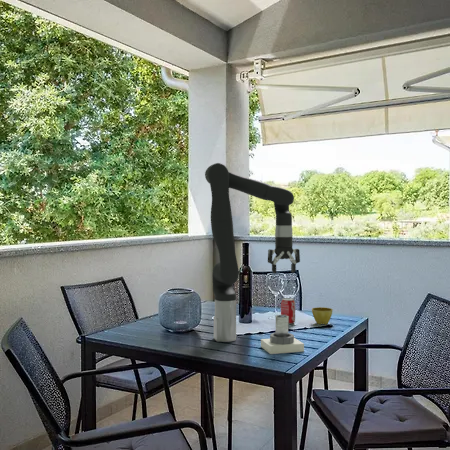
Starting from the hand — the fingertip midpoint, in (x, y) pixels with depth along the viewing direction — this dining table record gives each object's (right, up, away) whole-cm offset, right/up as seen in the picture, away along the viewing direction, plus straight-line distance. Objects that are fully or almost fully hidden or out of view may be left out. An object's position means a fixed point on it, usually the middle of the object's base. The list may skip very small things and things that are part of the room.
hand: (283, 272), depth 207 cm
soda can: (+5, -28, +27) cm, 39 cm away
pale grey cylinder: (-3, -26, -19) cm, 32 cm away
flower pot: (+22, -28, +26) cm, 44 cm away
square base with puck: (-3, -28, -19) cm, 34 cm away
